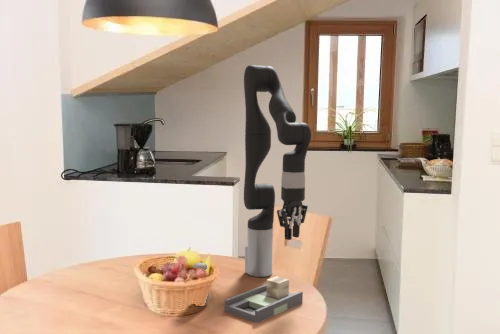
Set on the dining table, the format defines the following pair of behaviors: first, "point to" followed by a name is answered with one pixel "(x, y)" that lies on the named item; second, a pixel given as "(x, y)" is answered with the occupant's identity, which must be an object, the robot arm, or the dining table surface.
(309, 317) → the dining table surface
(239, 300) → the trap lane
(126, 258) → the dining table surface
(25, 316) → the dining table surface
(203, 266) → the salt shaker
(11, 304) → the dining table surface
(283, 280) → the maple block
